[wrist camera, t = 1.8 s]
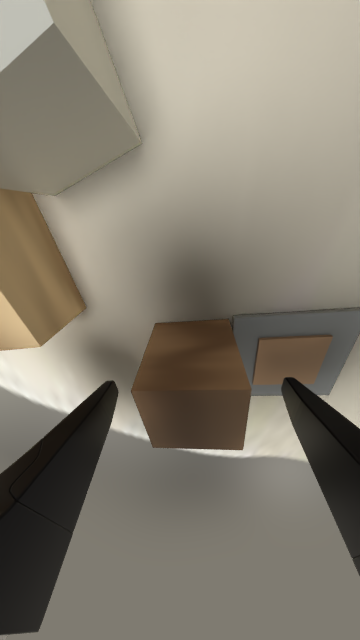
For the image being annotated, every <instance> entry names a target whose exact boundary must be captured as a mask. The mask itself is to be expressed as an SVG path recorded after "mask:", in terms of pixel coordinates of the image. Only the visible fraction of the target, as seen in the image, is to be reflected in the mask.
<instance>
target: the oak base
mask: <svg viewBox="0 0 360 640" xmlns="http://www.w3.org/2000/svg"><path fill="white" fill-rule="evenodd" d="M85 308H86V306H85V303H84V301H83V299H82V297H81V295H80V293H79V291H78V289H77V287H76V285H75V283H74V281H73V278H72V276H71V274H70V272H69V270H68V268H67V266H66V264H65V262H64V260H63V258H62V256H61V253H60V251H59V249H58V247H57V245H56V243H55V241H54V239H53V237H52V235H51V233H50V231H49V228H48V226H47V224H46V222H45V220H44V218H43V216H42V214H41V212H40V210H39V208H38V206H37V203H36V201H35V199H34V197H33V195H32V193H30V192H22V191H15V190H8V189H1V188H0V351H2V350H13V349H24V348H35V347H41V346H42V345H44V344H45V343H46V342H47V341H48V340H49V339H51V338H52V337H53V336H54V335H55V334H56V333H58V332H59V331H60V330H61V329H62V328H63V327H65V326H66V325H67V324H68V323H69V322H70V321H71V320H73V319H74V318H75V317H76V316H77V315H78V314H80V313H81V312H82V311H83V310H84V309H85Z"/></svg>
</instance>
